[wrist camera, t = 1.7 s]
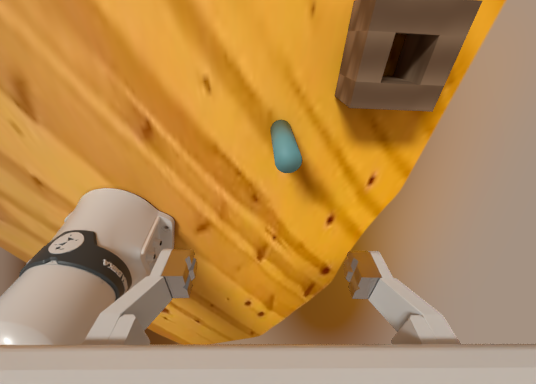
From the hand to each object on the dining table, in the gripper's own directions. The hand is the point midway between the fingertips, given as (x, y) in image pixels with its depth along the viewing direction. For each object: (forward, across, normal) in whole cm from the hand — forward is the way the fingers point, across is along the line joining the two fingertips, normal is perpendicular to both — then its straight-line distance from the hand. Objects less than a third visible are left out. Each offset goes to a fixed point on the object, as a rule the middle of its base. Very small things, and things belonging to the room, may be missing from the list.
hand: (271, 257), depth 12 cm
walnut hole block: (+25, -14, -8) cm, 30 cm away
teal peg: (+25, -2, +2) cm, 25 cm away
